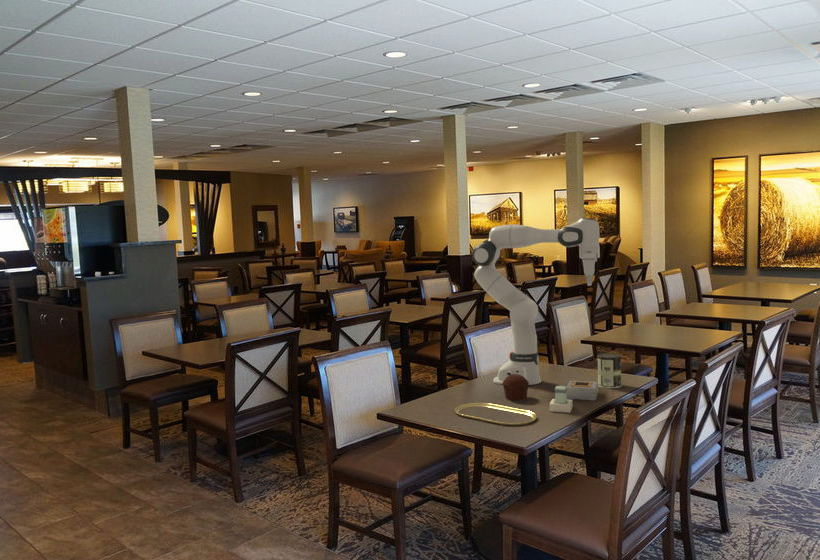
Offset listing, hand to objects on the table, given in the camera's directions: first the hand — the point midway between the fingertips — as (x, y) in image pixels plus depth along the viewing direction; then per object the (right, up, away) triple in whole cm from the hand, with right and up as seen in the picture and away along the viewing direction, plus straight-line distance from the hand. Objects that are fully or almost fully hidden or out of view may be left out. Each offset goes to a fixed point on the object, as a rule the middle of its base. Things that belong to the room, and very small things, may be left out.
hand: (589, 284), depth 289 cm
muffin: (-35, -49, -11) cm, 61 cm away
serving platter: (-47, -52, -35) cm, 79 cm away
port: (-7, -48, -12) cm, 50 cm away
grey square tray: (-20, -50, -30) cm, 62 cm away
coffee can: (+10, -46, +3) cm, 47 cm away
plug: (-20, -50, -30) cm, 62 cm away
